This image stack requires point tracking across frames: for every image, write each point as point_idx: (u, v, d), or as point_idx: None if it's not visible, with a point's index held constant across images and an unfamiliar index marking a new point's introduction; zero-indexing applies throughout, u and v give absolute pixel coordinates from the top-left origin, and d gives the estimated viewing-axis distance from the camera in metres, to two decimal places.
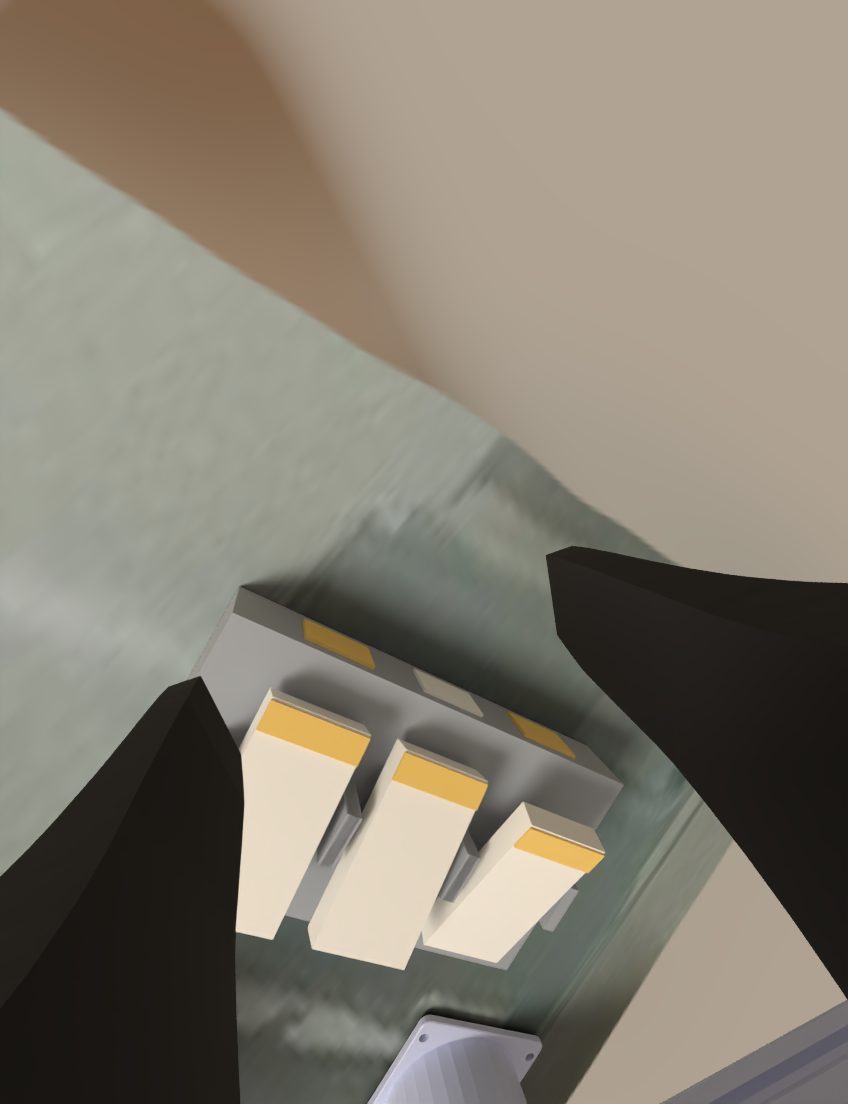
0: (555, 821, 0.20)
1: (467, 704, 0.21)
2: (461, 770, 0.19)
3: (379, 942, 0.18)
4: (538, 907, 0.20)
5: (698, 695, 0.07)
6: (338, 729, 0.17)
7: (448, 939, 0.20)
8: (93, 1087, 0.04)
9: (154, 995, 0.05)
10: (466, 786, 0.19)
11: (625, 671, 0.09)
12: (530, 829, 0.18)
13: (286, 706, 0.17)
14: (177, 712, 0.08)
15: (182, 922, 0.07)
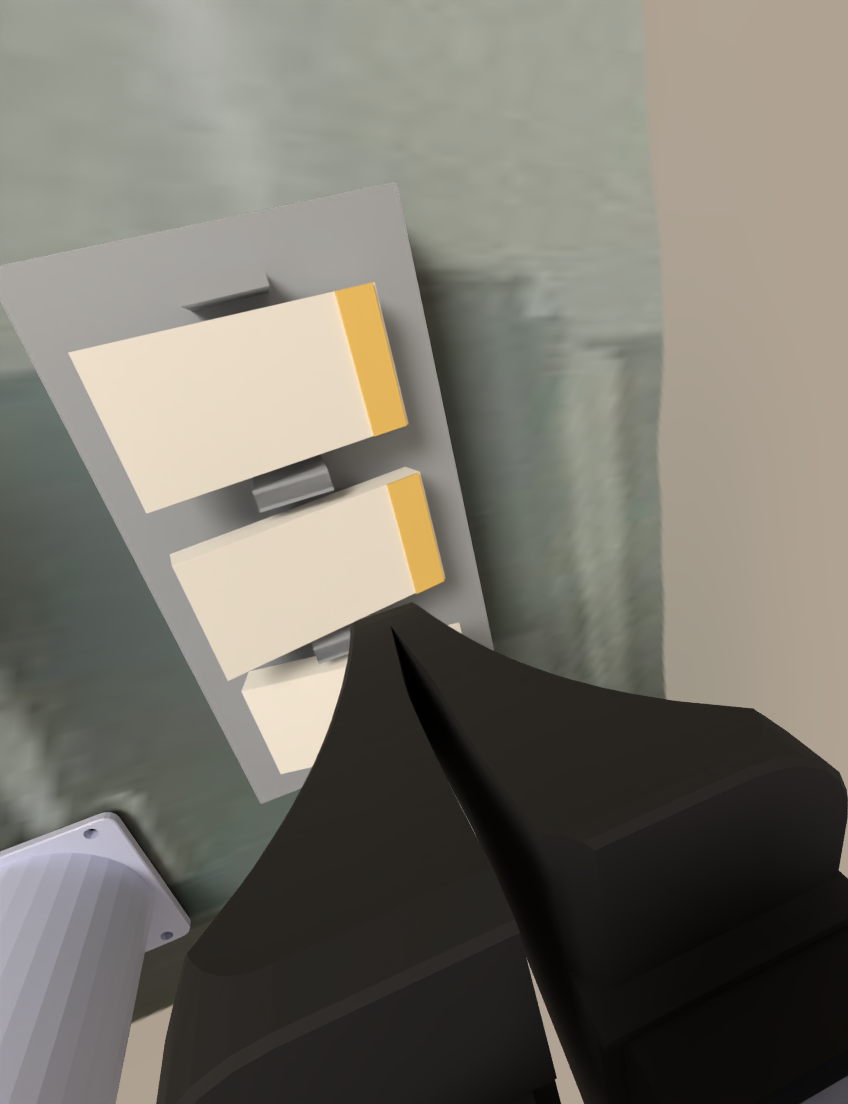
0: None
1: None
2: (436, 545, 0.16)
3: (234, 628, 0.14)
4: None
5: (471, 790, 0.07)
6: (393, 383, 0.14)
7: (268, 706, 0.16)
8: None
9: None
10: (428, 563, 0.16)
11: (440, 746, 0.09)
12: None
13: (377, 305, 0.13)
14: (391, 635, 0.09)
15: None
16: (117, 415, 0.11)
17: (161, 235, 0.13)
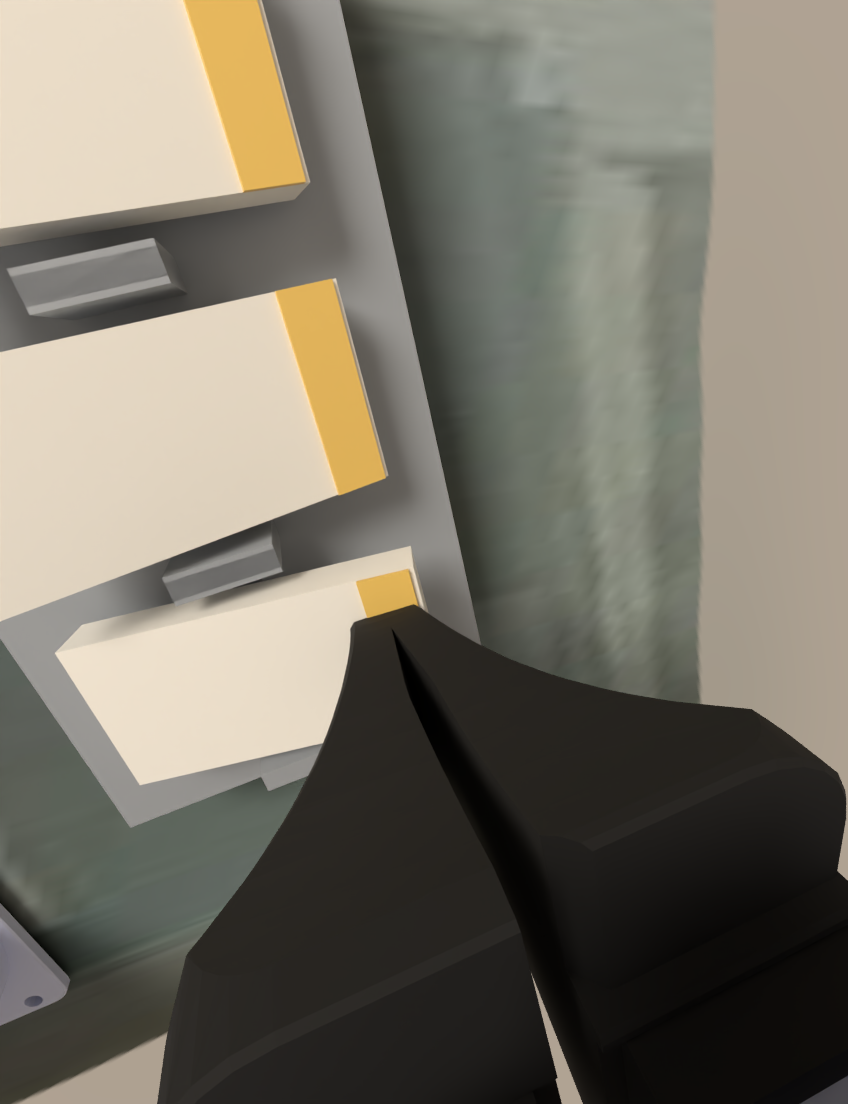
0: None
1: None
2: (370, 417, 0.10)
3: None
4: (285, 731, 0.11)
5: (470, 790, 0.07)
6: (275, 90, 0.08)
7: (104, 677, 0.10)
8: None
9: None
10: (358, 445, 0.10)
11: (439, 746, 0.09)
12: (405, 571, 0.10)
13: None
14: (392, 635, 0.09)
15: None
16: None
17: None
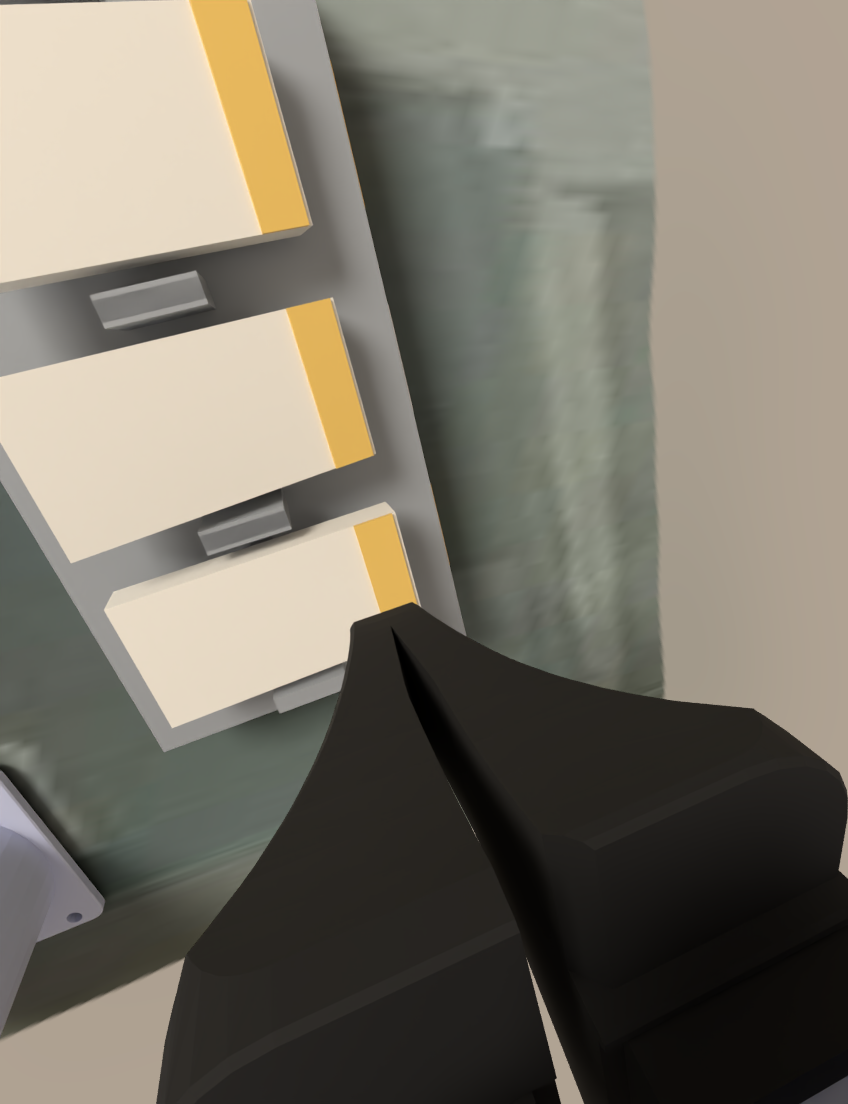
0: None
1: None
2: (361, 406, 0.13)
3: (74, 489, 0.10)
4: (298, 660, 0.14)
5: (471, 790, 0.07)
6: (286, 158, 0.10)
7: (146, 628, 0.12)
8: None
9: None
10: (352, 428, 0.13)
11: (440, 745, 0.09)
12: (390, 515, 0.13)
13: (255, 33, 0.10)
14: (391, 635, 0.09)
15: None
16: None
17: None
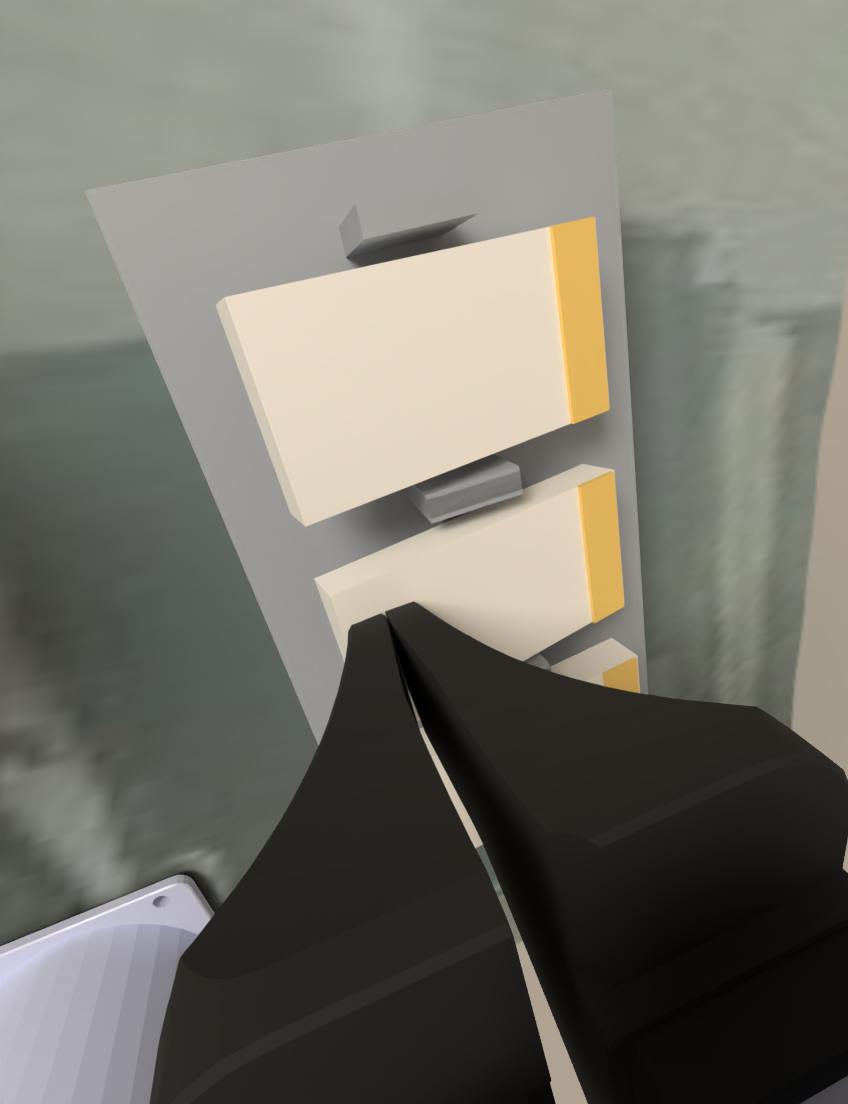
0: None
1: None
2: None
3: None
4: None
5: (474, 789, 0.07)
6: (602, 354, 0.11)
7: None
8: None
9: None
10: (610, 584, 0.13)
11: (442, 745, 0.09)
12: (634, 659, 0.14)
13: (596, 248, 0.10)
14: (389, 636, 0.09)
15: None
16: (280, 390, 0.08)
17: (317, 151, 0.09)
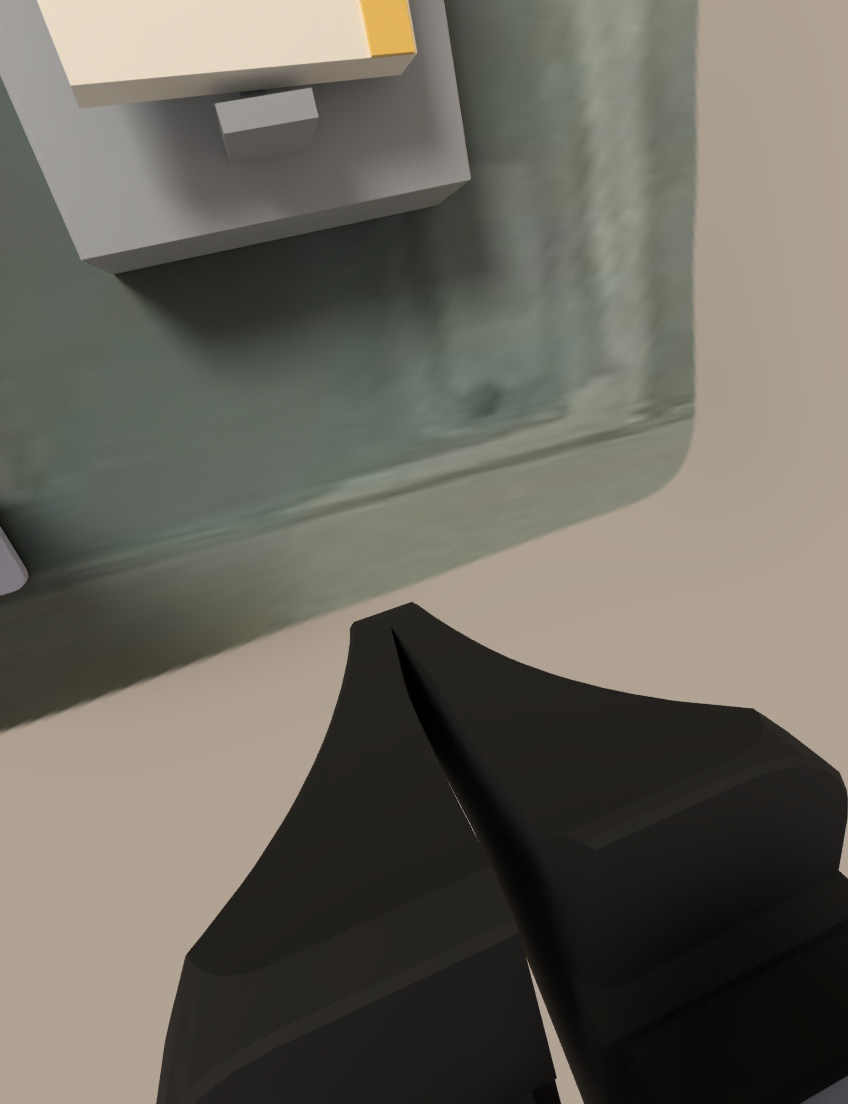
0: None
1: None
2: None
3: None
4: (249, 33, 0.10)
5: (471, 790, 0.07)
6: None
7: None
8: None
9: None
10: None
11: (440, 746, 0.09)
12: None
13: None
14: (391, 635, 0.09)
15: None
16: None
17: None
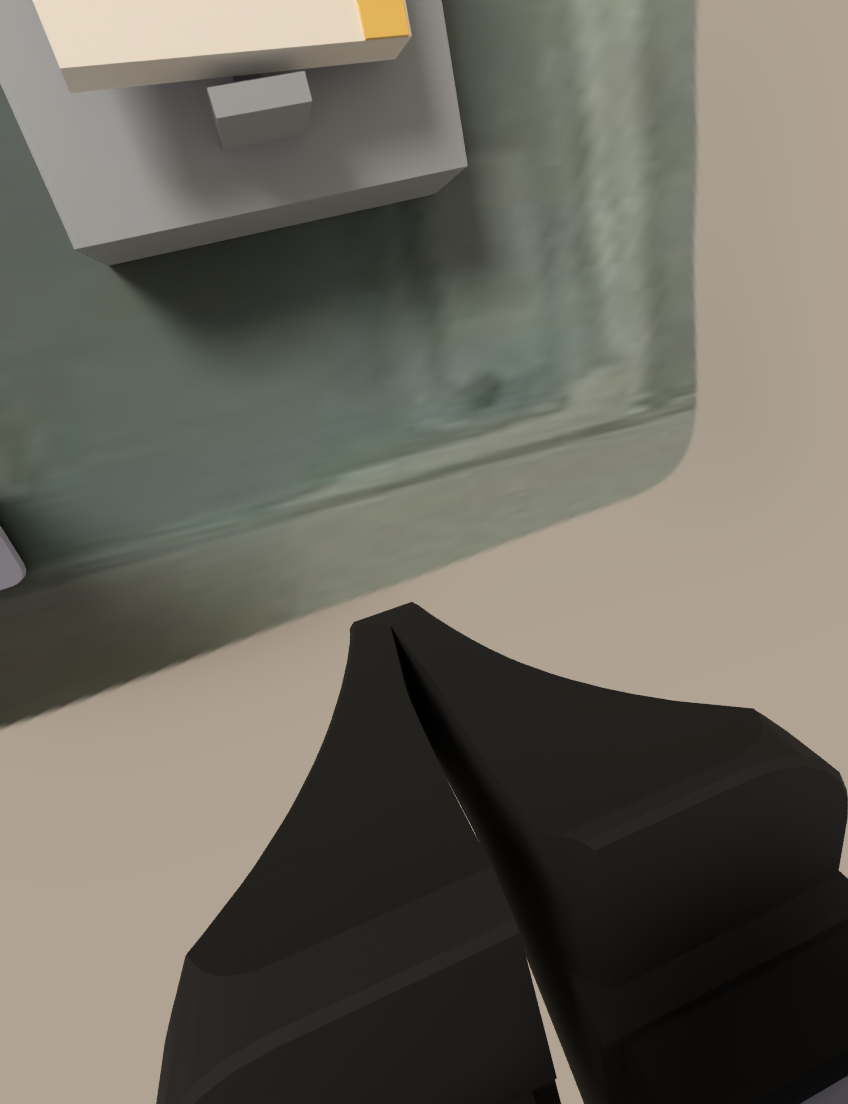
0: None
1: None
2: None
3: None
4: (242, 15, 0.10)
5: (471, 790, 0.07)
6: None
7: None
8: None
9: None
10: None
11: (440, 746, 0.09)
12: None
13: None
14: (392, 635, 0.09)
15: None
16: None
17: None
